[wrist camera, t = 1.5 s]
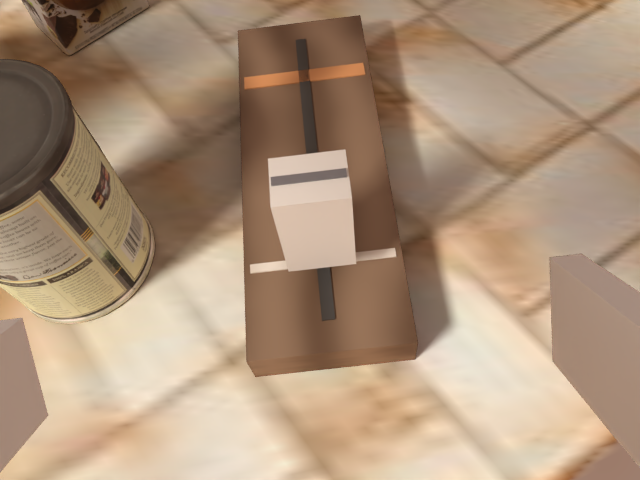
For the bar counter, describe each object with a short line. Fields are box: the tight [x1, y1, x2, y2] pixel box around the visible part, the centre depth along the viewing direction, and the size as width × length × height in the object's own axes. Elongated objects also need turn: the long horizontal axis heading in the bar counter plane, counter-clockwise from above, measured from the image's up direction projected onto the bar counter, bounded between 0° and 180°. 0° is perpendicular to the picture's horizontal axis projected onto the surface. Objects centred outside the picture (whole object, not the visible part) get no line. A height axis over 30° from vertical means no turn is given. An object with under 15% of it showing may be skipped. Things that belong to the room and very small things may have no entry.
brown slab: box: [238, 15, 418, 377], centre depth 43 cm, size 10×28×3 cm, turn 5°
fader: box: [268, 149, 356, 272], centre depth 34 cm, size 4×3×9 cm
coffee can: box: [0, 59, 155, 324], centre depth 37 cm, size 10×10×14 cm
